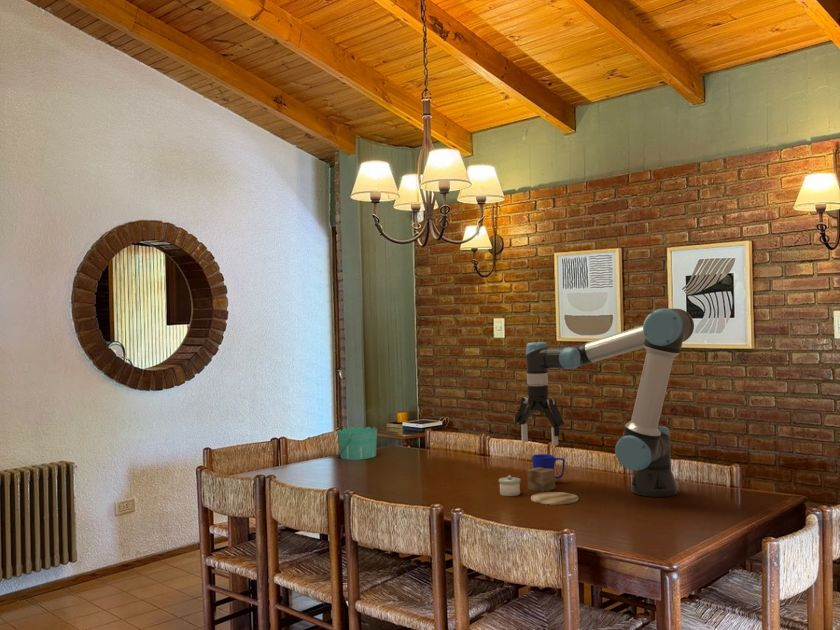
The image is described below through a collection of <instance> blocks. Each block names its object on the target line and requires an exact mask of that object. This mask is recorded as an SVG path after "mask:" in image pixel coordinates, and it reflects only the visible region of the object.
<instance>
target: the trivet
mask: <svg viewBox="0 0 840 630" xmlns="http://www.w3.org/2000/svg"><path fill="white" fill-rule="evenodd" d="M579 500H580V499H579V496H578V495H577V494H575V493H574V494H573V493H569V492H563V491H545V492H539V493H535V494H532V495H531V496H530V501H531V502H533V503H535V504H541V505H548V504H549V505H551V506H556V505H557V506H560V505H571V504H574V503H577V502H578V501H579Z"/></svg>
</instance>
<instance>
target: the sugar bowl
mask: <svg viewBox="0 0 840 630" xmlns="http://www.w3.org/2000/svg"><path fill="white" fill-rule="evenodd" d="M498 483H499V495H501V496H503V497H516V496H519V495H520V494H521V487H520V486H521V485H520V483H521V478H519V477H514V476H512V475H510V474H508V475H507V477H506V476H505V477H504V476H503V477H500V478H498Z"/></svg>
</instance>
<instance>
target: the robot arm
mask: <svg viewBox="0 0 840 630" xmlns="http://www.w3.org/2000/svg"><path fill="white" fill-rule="evenodd" d="M694 329H695V323H694V319H693V317H692V315H690V313H688V312H687V311H685V310H683V309H680V308H667V307H664V308H663V307H662V308H658V309H656V310H653V311H652V312H650V313H649V314H647V316H646V317H645V319H644V321H643V324H642V325H640V326H637V327H633V328H630V329H626V330H623V331H620V332H617V333H614V334H610V335H608V336H604V337H602V338H599V339H595V340H592V341H588V342H585V343H582V344H578V345H575V346H564V347H563V346H562V347H548V344H547V342H545V341H537V342H536V341H535V342H528V343H527V344H526V349H525V357H526V385H527V388H526V389H527V391H526V393H527V396H528V397H527V396H526V397H521V399H520V405H519V409H518V411H517V412H516V416H515V418H514V422H515V423H518V424H519V432H520V435H521V443H527V442H529V439H528V438H529V436H528V435H529V434H528V433H529V432H528V424H527V421H528V419H529V418H530V417H531V415H532V413H533V412H534V411H535V412H537V411H538V412H542V413H543V414H544V415H545V416H546V418H547V419H548V421H549V422H550V424H551V425H552V427H551V446H552V447H555V446H559V436H560V427H561V426H564V425H565V422H564V419H563V418H562V417H563V416H562V415H561V413H560V411H559V408H558V405H557V402H556V398H551V399H549V385H548V384H549V374H548V373H549V371H548V370H549V369H551V370H552V369H553V370H554V369H556V370H557V369H558V370H573V369H577V368H578V367H585V366H587V365H589V364H593V363H596V362H599V361H603V360H606V359H610V358H612V357H613V358H614V357H617V356H620V355H624V354H627V353H630V352H631V353H632V352H634V351H638V350H641V349H643V348H644V349H645V351H646V354H645V359H644V363H643V368H642V372H641V375H640V380H639V385H638V390H637V394H636V398H635V403H634V407H633V411H632V414H631V420H629V421H628V422H627V423H625V425H624V428H623V429H624V430H623V432H622V436H621V437H620V438H619V440H617V441H616V444H615V446H614V447H615V448H614V451H615V454H614V455H615V457H616V460H617V461H618V462H619V463H620V464H621V466H623V468H625V469H628V470H630V471H635V473H634V476H633V479H632V482H631V492H632V493H633V494H635V495H638V496H643V497H653V498H655V497H656V498H659V497H660V498H664V497H671V496H676V495H677V494H678V485H677V482H676V480H675V477H674V475H673V471H672V458H671V451H672V450H671V434H670V429H669V428H668V427H667V426H663V425H662V426H660V425H659V422H660V420H661V419H660V418H661V414H662V411H663V405H664V402H665V397H666V393H667V387H668V384H669V380H670V376H671V370H672V366H673V363H674V358H675V357H677V356H679V355H680V354H681V350H682V347H683V343H684V342H686V341H687V340H689V339H690V337H691V336H692V335H693V333H694ZM527 406H528V407H527Z"/></svg>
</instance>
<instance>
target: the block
mask: <svg viewBox="0 0 840 630" xmlns="http://www.w3.org/2000/svg"><path fill="white" fill-rule="evenodd" d="M526 475H527V490H529V491H534V492H535V491H536V492H539V493H545V492H550V491H552V490H555V489H556V478H555V476H556V473H555V468H554V469H549V468H541V467H538V468H534V469H533V468H530V469H527V470H526Z"/></svg>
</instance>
